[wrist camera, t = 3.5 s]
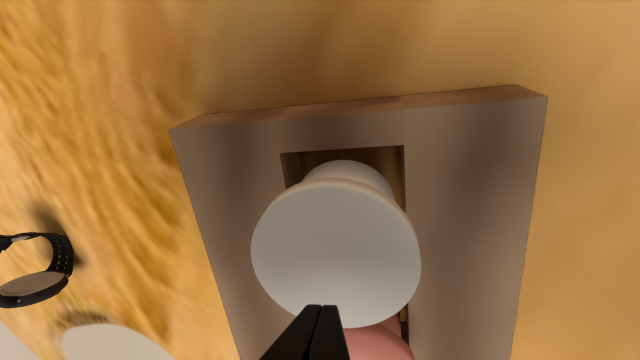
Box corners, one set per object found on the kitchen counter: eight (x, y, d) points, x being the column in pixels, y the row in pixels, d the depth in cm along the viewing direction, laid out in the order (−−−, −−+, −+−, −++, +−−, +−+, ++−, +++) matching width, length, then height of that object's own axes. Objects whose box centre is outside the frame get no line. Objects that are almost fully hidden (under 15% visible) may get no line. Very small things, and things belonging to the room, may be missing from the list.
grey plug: (409, 141, 13) (420, 183, 9) (411, 259, 15) (421, 331, 11) (272, 150, 14) (233, 191, 10) (293, 259, 16) (267, 324, 12)
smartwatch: (40, 259, 24) (-38, 311, 20) (35, 202, 22) (-54, 247, 17) (92, 279, 24) (25, 336, 20) (92, 224, 22) (17, 274, 17)
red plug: (409, 272, 17) (417, 337, 13) (411, 349, 19) (418, 423, 15) (305, 271, 18) (285, 330, 14) (317, 344, 20) (303, 411, 17)
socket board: (516, 84, 14) (548, 96, 11) (480, 419, 23) (493, 471, 20) (202, 114, 17) (168, 129, 14) (278, 400, 26) (266, 442, 23)
